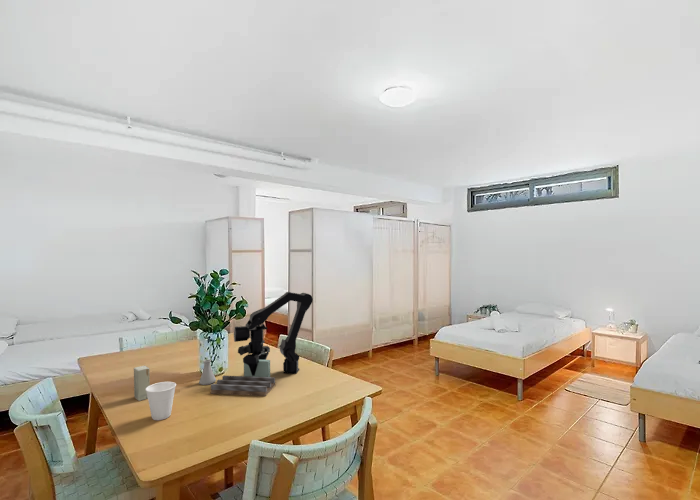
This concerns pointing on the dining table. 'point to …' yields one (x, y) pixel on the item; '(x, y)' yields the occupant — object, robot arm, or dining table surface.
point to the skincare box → (141, 382)
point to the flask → (207, 374)
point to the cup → (161, 399)
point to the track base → (243, 385)
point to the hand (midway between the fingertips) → (257, 372)
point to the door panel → (259, 369)
